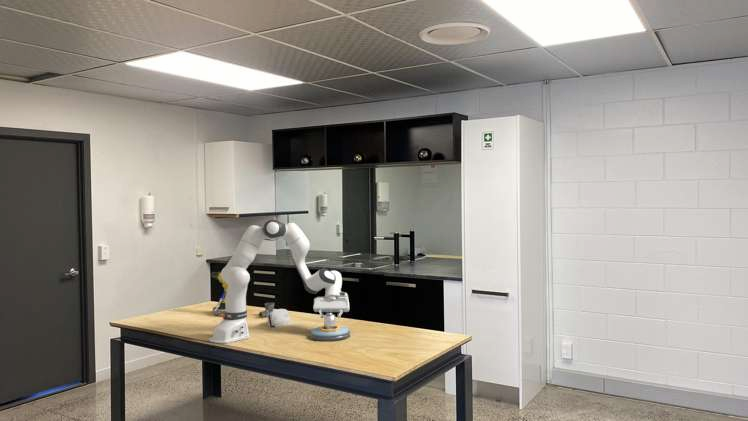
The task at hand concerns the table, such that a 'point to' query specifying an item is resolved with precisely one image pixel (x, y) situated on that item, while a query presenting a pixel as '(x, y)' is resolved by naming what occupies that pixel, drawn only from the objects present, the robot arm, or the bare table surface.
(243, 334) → the robot arm
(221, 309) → the cordless drill
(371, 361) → the table surface
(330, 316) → the silver can
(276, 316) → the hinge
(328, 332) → the turntable platter
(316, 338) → the turntable base
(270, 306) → the pipe
